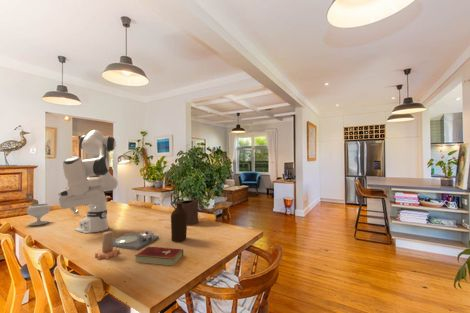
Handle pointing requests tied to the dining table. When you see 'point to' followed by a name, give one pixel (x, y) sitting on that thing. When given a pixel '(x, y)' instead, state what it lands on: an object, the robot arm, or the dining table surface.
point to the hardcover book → (159, 255)
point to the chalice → (38, 212)
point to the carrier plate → (134, 240)
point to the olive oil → (178, 223)
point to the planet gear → (107, 247)
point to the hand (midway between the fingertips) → (86, 212)
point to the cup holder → (190, 210)
